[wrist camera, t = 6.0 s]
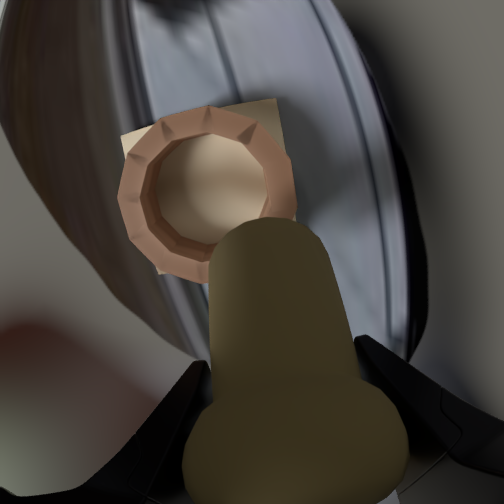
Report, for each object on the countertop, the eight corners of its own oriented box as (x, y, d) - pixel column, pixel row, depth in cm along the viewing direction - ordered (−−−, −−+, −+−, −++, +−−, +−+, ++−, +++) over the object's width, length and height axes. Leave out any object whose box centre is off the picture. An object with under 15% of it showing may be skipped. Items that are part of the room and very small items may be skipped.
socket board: (297, 244, 21) (307, 268, 17) (162, 267, 22) (147, 294, 18) (274, 100, 17) (281, 89, 13) (127, 135, 17) (100, 136, 13)
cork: (219, 203, 12) (128, 489, 2) (346, 232, 12) (500, 437, 2) (200, 314, 14) (161, 527, 4) (307, 331, 15) (354, 524, 5)
